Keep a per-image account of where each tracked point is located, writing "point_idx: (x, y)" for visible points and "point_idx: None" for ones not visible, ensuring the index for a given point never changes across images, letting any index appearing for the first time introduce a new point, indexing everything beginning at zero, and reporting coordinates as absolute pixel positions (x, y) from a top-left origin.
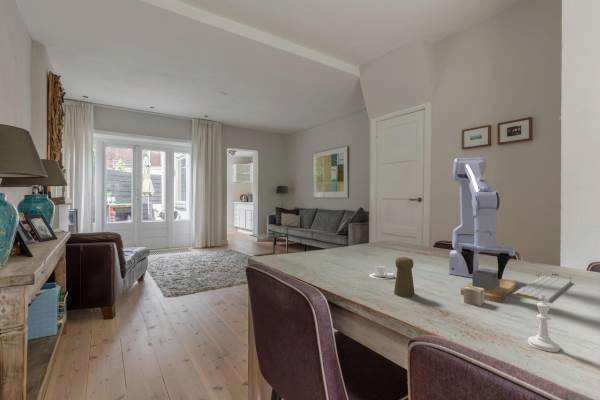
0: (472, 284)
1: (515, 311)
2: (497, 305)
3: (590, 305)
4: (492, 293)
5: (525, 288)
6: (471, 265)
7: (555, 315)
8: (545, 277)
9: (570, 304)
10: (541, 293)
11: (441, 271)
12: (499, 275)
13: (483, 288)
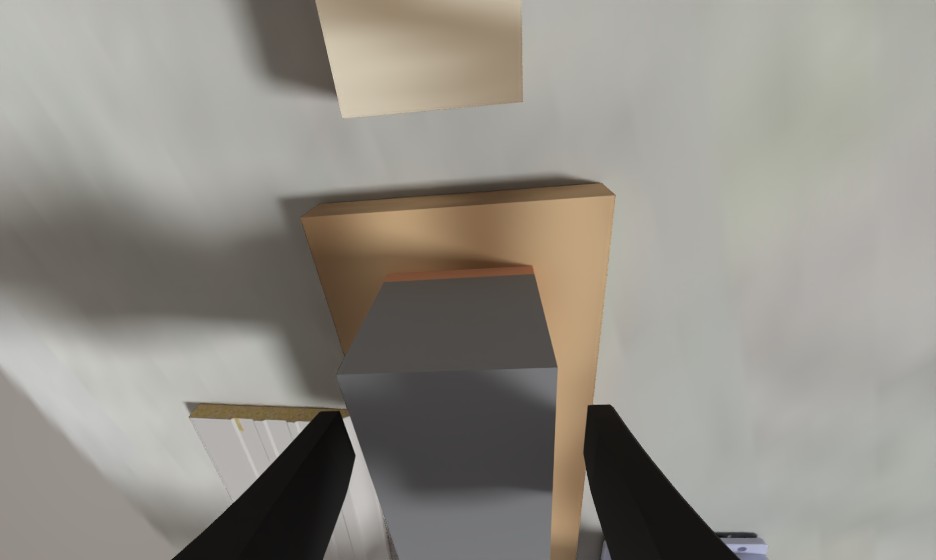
0: (537, 287)
1: (143, 70)
2: (291, 114)
3: (111, 470)
4: (381, 272)
5: (348, 506)
6: (620, 523)
7: (18, 210)
8: None
9: (144, 436)
10: None
11: (809, 554)
12: (303, 439)
13: (347, 106)
